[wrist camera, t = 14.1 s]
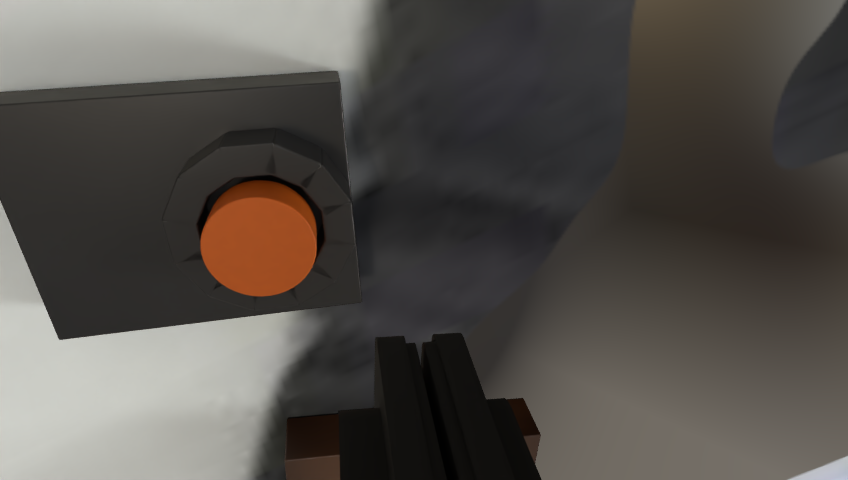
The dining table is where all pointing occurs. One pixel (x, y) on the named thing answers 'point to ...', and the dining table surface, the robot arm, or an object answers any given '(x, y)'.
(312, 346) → the dining table surface
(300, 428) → the dial panel
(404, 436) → the robot arm
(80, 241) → the switch base
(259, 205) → the switch
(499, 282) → the dining table surface
